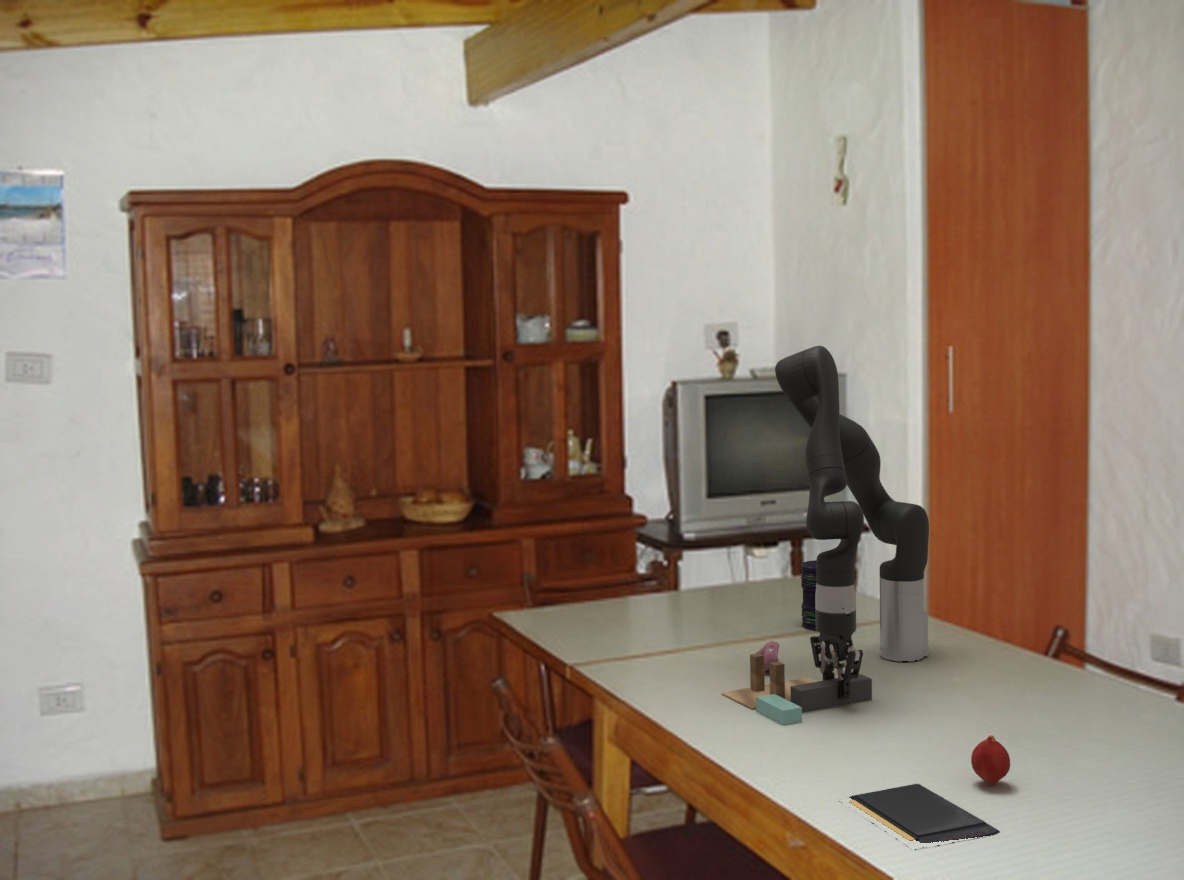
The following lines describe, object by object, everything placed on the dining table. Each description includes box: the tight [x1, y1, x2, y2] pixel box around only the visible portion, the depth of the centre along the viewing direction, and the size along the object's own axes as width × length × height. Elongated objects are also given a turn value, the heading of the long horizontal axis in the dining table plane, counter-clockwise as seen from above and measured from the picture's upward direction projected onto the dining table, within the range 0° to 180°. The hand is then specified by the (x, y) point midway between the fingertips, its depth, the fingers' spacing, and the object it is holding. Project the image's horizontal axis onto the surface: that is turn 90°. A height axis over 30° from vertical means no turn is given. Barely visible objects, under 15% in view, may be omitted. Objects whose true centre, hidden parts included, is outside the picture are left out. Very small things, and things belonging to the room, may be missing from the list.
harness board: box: [721, 652, 817, 711], centre depth 240 cm, size 20×11×7 cm, turn 115°
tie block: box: [755, 694, 803, 726], centre depth 227 cm, size 4×9×3 cm, turn 24°
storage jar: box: [800, 559, 817, 632], centre depth 291 cm, size 10×10×15 cm
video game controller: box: [754, 640, 780, 673], centre depth 258 cm, size 10×5×7 cm, turn 169°
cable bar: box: [790, 673, 873, 714], centre depth 234 cm, size 16×4×4 cm, turn 114°
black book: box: [848, 783, 1001, 843], centre depth 181 cm, size 20×2×15 cm
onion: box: [970, 734, 1011, 786], centre depth 192 cm, size 6×6×8 cm
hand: (836, 695), depth 234 cm, fingers open, 4 cm apart
